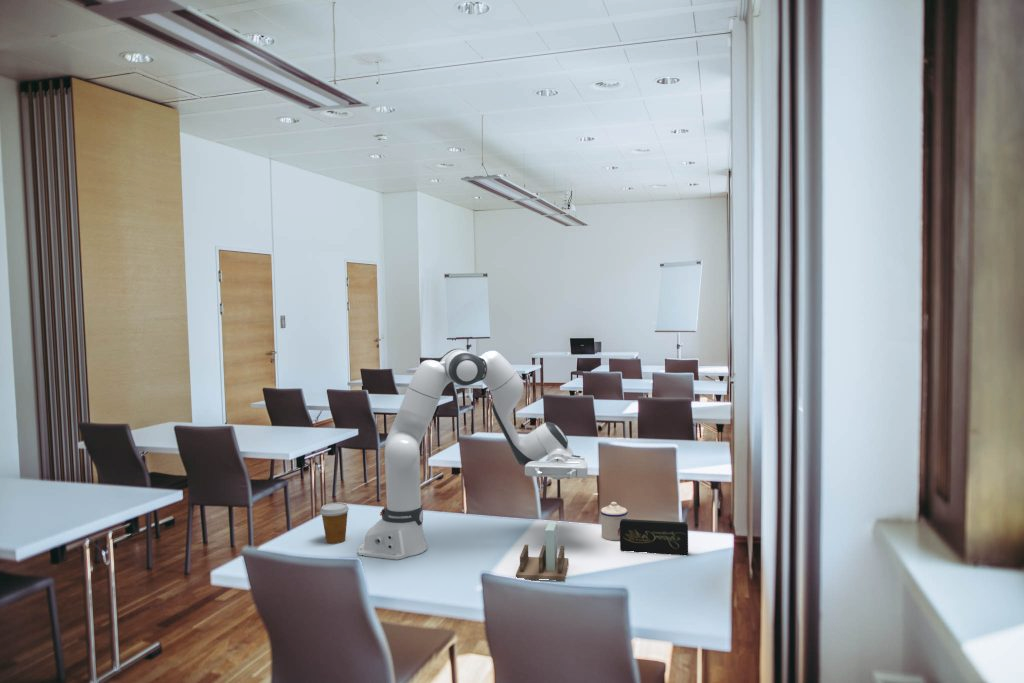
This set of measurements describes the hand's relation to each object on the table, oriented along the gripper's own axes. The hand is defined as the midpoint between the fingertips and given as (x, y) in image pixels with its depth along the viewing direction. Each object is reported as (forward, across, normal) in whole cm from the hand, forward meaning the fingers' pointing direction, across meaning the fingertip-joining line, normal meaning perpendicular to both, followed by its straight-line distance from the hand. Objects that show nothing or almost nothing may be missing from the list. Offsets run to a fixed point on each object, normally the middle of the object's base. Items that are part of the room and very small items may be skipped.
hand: (554, 475), depth 209 cm
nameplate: (-7, +31, +25) cm, 40 cm away
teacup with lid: (-22, +19, +25) cm, 38 cm away
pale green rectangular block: (+12, 0, +24) cm, 27 cm away
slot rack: (+12, -2, +26) cm, 28 cm away
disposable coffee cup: (-8, -76, +27) cm, 81 cm away
